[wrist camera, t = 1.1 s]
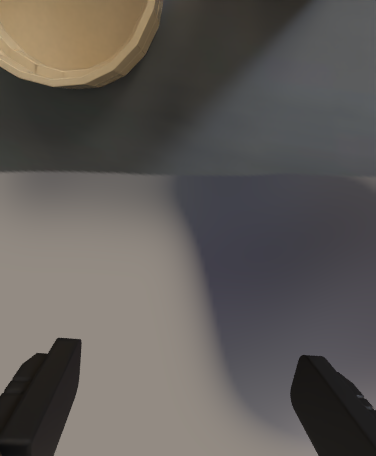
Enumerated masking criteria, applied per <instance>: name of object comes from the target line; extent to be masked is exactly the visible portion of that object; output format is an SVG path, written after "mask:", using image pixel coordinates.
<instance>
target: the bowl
mask: <svg viewBox="0 0 376 456" xmlns="http://www.w3.org/2000/svg"><path fill="white" fill-rule="evenodd" d="M162 6H163V0H0V67H2V68H3V69H5V70H6V71H8V72H10V73H11V74H13V75H15V76H16V77H18V78H21V79H24V80H28V81H32V82H36V83H40V84H43V85H47V86H51V87H59V88H67V89H86V88H98V87H103V86H105V85H107V84H109V83H111V82H113V81H115V80H117V79H119V78H121V77H124V76H125V75H127V73H128V72H129V71H130V70H131V69H132V68H133V67H134V66H135V65H136V64H137V63H138V62H139V61H140V60H141V59H142V58H143V57H144V56H145V54H146V52H147V50H148V48H149V46H150V44H151V42H152V40H153V38H154V36H155V33H156V31H157V29H158V27H159V24H160V18H161V12H162Z"/></svg>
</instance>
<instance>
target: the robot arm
mask: <svg viewBox="0 0 376 456" xmlns="http://www.w3.org/2000/svg"><path fill="white" fill-rule="evenodd" d="M80 357H81V339H69V338H57V339H56V341H55V343H54V344H53V346H52V348H51V350H50V351H49V353H48V354H44V353H36V354H35V355H34V356H32V358H30V359H29V360H27V361H26V362H25V363H23V364H22V365H21V367H20V368H19V370H18V371H17V373H16V374H15V376H14V377H13V380H12V381H11V382H10V383H9V384H8V386H7V387H6V389H5V391H4V393H2V394H1V396H0V456H54V453H55V450H56V448H57V445H58V442H59V439H60V437H61V434H62V431H63V429H64V426H65V423H66V420H67V417H68V415H69V412H70V409H71V407H72V404H73V401H74V399H75V395H76V392H77V388H78V382H79V374H80ZM290 394H291V395H290V396H291V402H292V406H293V408H294V410H295V412H296V414H297V416H298V418H299V420H300V422H301V423H302V425H303V427H304V429H305V431H306V433H307V435H308V437H309V438H310V440H311V442H312V444H313V446H314V448H315V450H316V452H317V453H318V455H319V456H376V410H374V409H373V406H372V405H371V404H370V403H369V402H368V401H367V400H366V399H364V396H363V395H362V394H361V392H360V391H359V390H358V389H357V388H356V387H355V385H354V384H353V383H352V382H350V381H349V380H348V379H346V378H345V377H344V376H343V375H341V374H340V373H339V372H336V370H335V369H334V368H333V367H332V366H331V364H330V363H329V362H328V361H327V360H326V359H325V358H324V357H322V356H307V355H302V356H301V357H300V358H299V361H298V364H297V368H296V372H295V375H294V379H293V383H292V386H291V393H290Z"/></svg>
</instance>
